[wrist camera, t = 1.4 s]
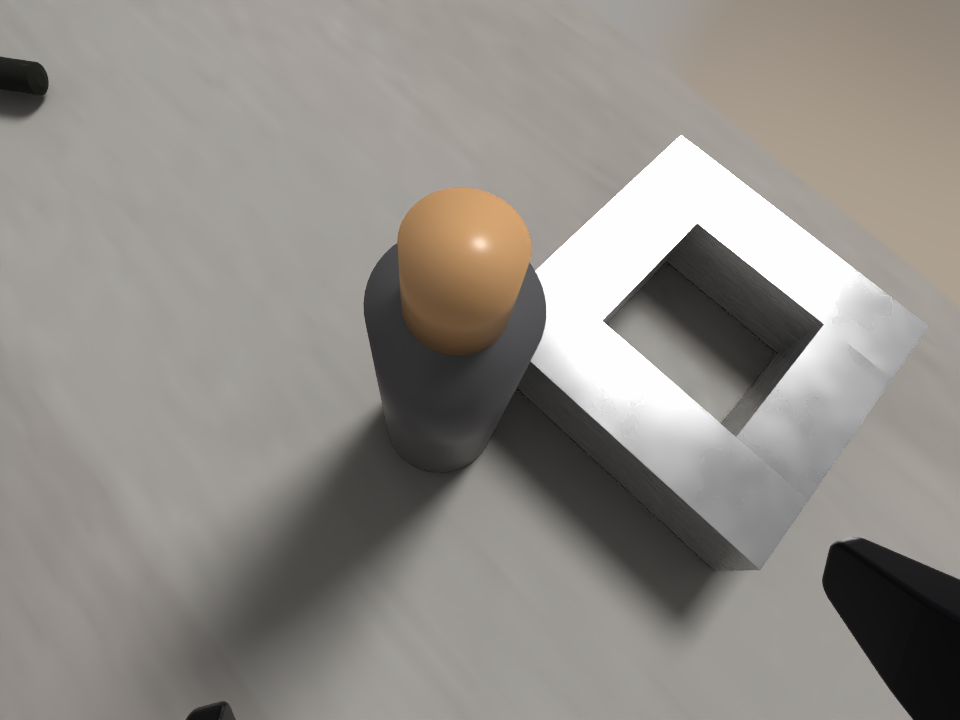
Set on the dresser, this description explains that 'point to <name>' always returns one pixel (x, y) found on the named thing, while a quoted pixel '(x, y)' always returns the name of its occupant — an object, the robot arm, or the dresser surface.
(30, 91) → the handheld radio
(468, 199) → the plug
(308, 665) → the dresser surface
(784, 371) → the socket plate
